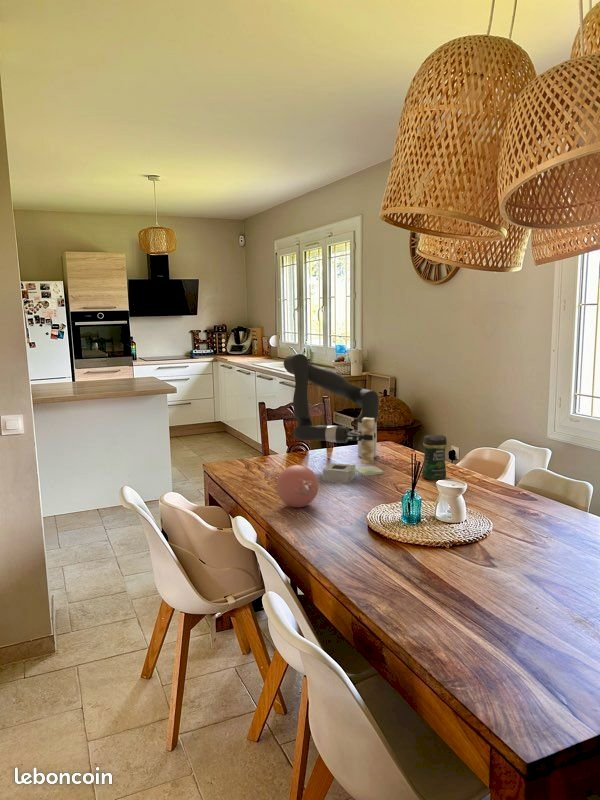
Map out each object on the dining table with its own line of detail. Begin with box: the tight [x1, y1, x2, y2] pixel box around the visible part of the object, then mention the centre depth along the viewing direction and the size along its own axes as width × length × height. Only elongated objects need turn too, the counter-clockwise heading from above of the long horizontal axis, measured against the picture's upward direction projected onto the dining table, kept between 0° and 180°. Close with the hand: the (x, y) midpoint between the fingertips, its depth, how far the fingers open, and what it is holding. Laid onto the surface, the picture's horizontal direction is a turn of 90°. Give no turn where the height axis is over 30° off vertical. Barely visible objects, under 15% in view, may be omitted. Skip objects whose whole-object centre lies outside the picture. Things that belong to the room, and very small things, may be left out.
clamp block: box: [322, 462, 356, 484], centre depth 243 cm, size 11×11×5 cm
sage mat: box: [355, 465, 384, 477], centre depth 253 cm, size 10×10×1 cm
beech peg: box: [360, 417, 375, 465], centre depth 251 cm, size 4×4×20 cm
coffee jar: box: [421, 434, 448, 481], centre depth 241 cm, size 10×8×19 cm
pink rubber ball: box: [275, 464, 319, 508], centre depth 206 cm, size 15×20×15 cm
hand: (373, 436), depth 250 cm, fingers closed on beech peg, 4 cm apart
